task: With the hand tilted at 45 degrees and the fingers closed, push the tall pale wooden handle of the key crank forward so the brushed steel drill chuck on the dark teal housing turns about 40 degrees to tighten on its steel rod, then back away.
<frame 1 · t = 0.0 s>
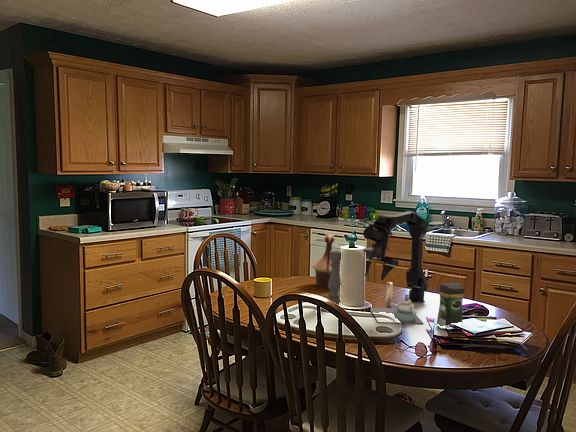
hand: (373, 278, 216), 15 cm above the table, tool pointing down, fingers open, 9 cm apart
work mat: (395, 316, 214), on the table
drill housing: (404, 320, 209), resting on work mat
coffee jar: (448, 328, 201), on the table
candle holder: (333, 305, 228), on the table
pitcher: (326, 286, 263), on the table
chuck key: (399, 298, 211), point 9 cm above the table, hinge at 0.0°
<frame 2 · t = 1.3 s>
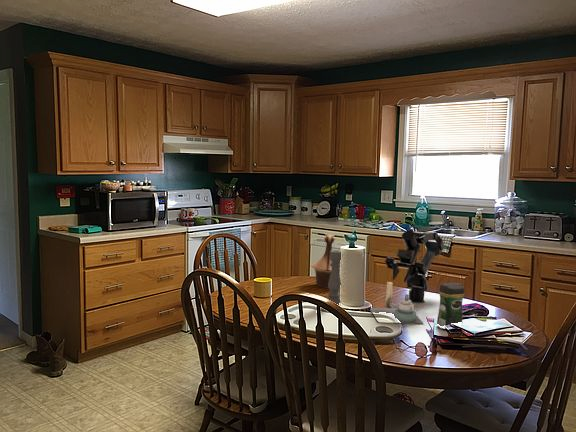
hand: (398, 280, 222), 14 cm above the table, tool tilted 45°, fingers open, 5 cm apart
nothing on the table moved.
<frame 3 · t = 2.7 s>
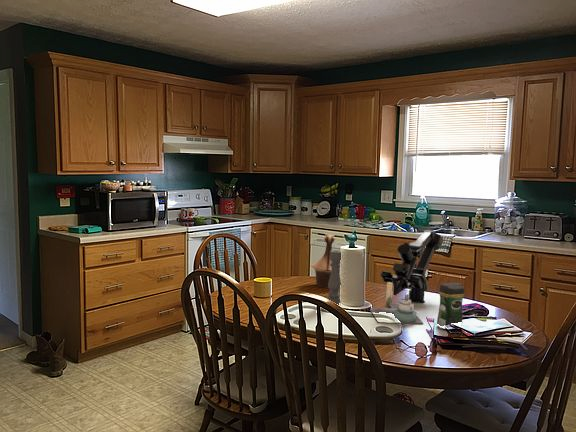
hand: (394, 294, 220), 8 cm above the table, tool tilted 45°, fingers closed
nothing on the table moved.
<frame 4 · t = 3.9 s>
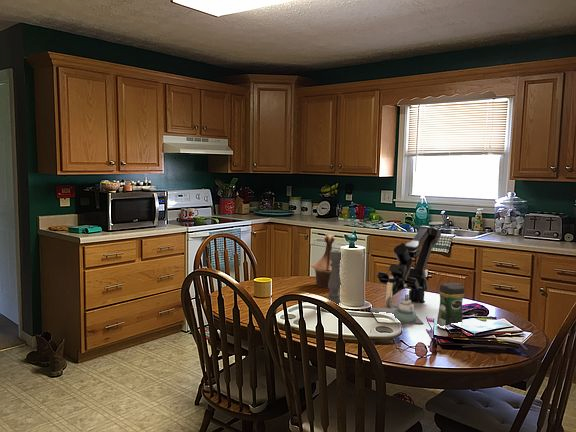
hand: (390, 295, 217), 8 cm above the table, tool tilted 45°, fingers closed, pressing on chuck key
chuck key: (399, 298, 211), point 9 cm above the table, hinge at 0.2°, touching gripper
everything else where it was.
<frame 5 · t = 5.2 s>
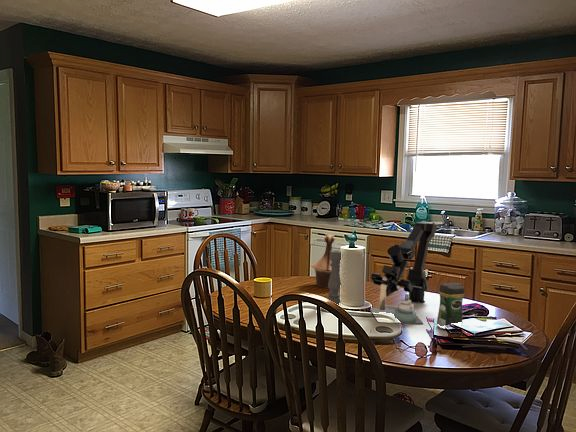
hand: (383, 297, 214), 8 cm above the table, tool tilted 45°, fingers closed, pressing on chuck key
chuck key: (396, 299, 210), point 9 cm above the table, hinge at 31.0°, touching gripper
everything else where it was.
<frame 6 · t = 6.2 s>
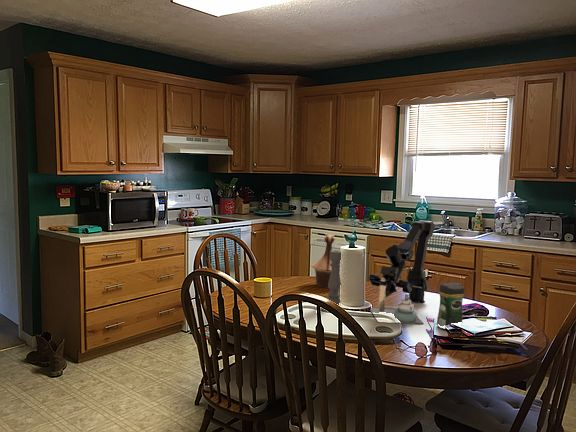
hand: (381, 298, 212), 8 cm above the table, tool tilted 45°, fingers closed
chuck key: (396, 299, 209), point 9 cm above the table, hinge at 42.5°, touching gripper
everything else where it was.
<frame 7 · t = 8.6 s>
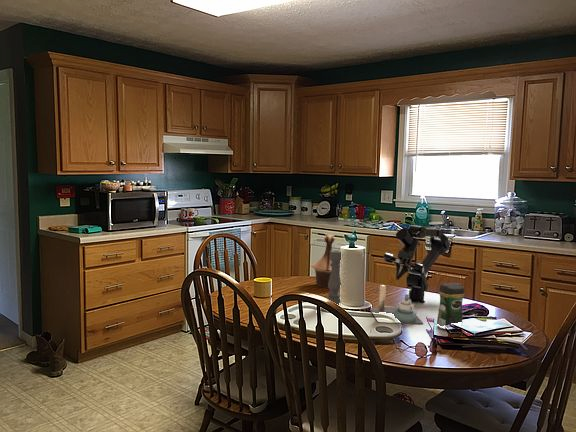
hand: (397, 279, 227), 13 cm above the table, tool tilted 30°, fingers closed
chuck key: (396, 299, 209), point 9 cm above the table, hinge at 42.6°
everything else where it was.
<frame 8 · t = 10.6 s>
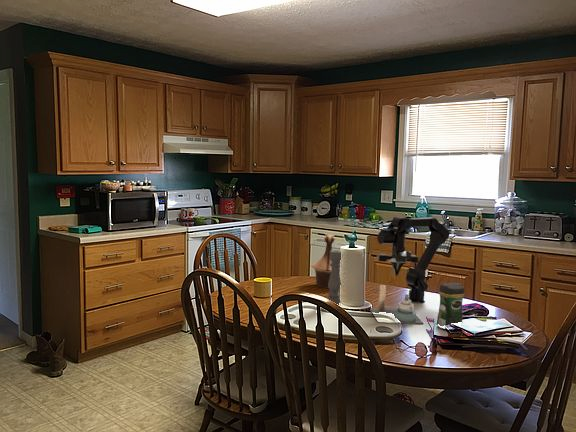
hand: (396, 275, 234), 13 cm above the table, tool pointing down, fingers closed
nothing on the table moved.
at the end: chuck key at +43° (first picture: +0°) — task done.
